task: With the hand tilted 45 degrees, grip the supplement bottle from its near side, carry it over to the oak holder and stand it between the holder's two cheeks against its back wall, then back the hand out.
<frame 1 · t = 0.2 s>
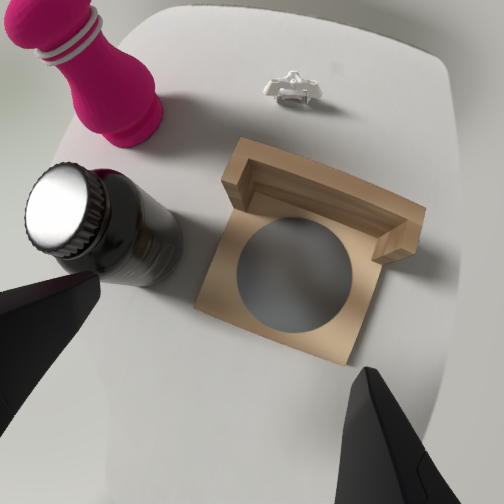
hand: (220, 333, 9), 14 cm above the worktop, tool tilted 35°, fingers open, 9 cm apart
supplement bottle: (146, 245, 25), on the worktop
clip: (292, 100, 26), on the worktop
pepper mill: (134, 120, 27), on the worktop
holder: (294, 275, 24), on the worktop
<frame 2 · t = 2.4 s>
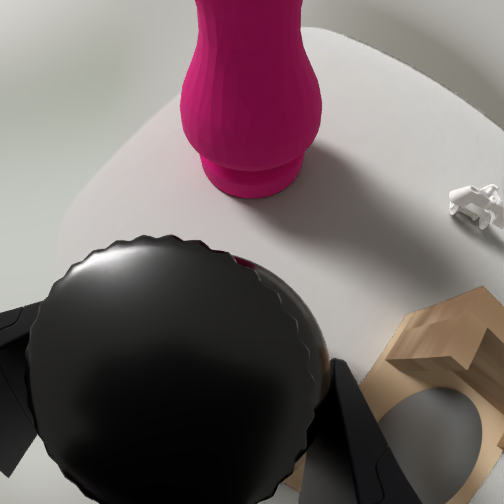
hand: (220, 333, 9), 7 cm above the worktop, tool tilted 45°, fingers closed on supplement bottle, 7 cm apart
supplement bottle: (227, 368, 15), on the worktop, touching gripper
clip: (463, 216, 18), on the worktop
pepper mill: (252, 158, 19), on the worktop
holder: (417, 455, 13), on the worktop
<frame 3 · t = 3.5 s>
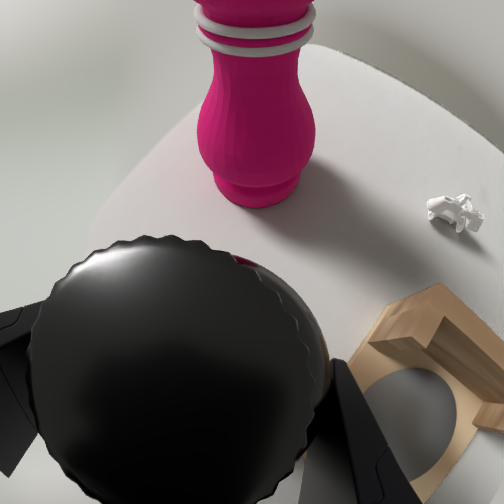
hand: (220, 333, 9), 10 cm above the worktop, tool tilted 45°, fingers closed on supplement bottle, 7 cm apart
supplement bottle: (227, 368, 15), point 3 cm above the worktop, touching gripper
clip: (441, 220, 22), on the worktop
pepper mill: (256, 172, 23), on the worktop
holder: (398, 427, 17), on the worktop
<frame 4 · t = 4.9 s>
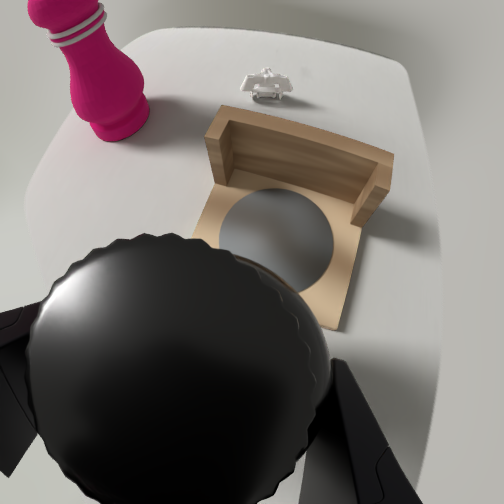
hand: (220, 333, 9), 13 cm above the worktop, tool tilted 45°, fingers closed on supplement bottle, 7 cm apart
supplement bottle: (227, 367, 15), point 6 cm above the worktop, touching gripper
clip: (266, 98, 29), on the worktop
pepper mill: (122, 120, 29), on the worktop
holder: (275, 243, 24), on the worktop
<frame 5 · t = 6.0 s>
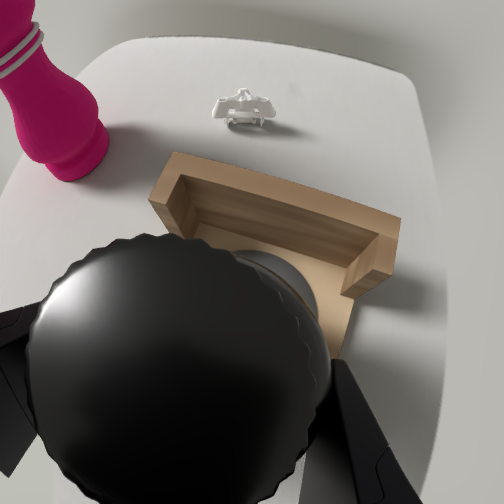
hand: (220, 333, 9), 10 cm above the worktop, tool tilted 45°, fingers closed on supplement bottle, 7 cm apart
supplement bottle: (227, 367, 15), point 4 cm above the worktop, touching gripper
clip: (244, 124, 25), on the worktop
pepper mill: (80, 153, 25), on the worktop
holder: (248, 318, 20), on the worktop
when the fingers open (9 cm above the worktop, at t = 7.2 s): supplement bottle stays where it is, resting on holder.
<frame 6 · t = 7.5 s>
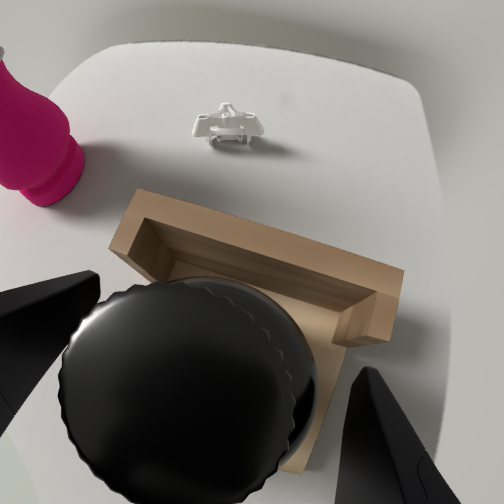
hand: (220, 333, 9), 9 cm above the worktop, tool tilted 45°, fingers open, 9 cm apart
supplement bottle: (229, 372, 16), point 1 cm above the worktop, touching holder
clip: (229, 142, 23), on the worktop
pepper mill: (55, 174, 22), on the worktop
holder: (229, 366, 17), on the worktop
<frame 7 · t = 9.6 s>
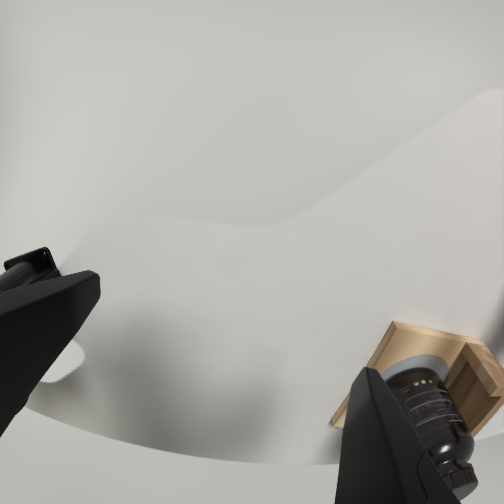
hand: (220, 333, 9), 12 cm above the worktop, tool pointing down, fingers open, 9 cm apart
supplement bottle: (405, 390, 24), point 1 cm above the worktop, touching holder
holder: (405, 382, 25), on the worktop
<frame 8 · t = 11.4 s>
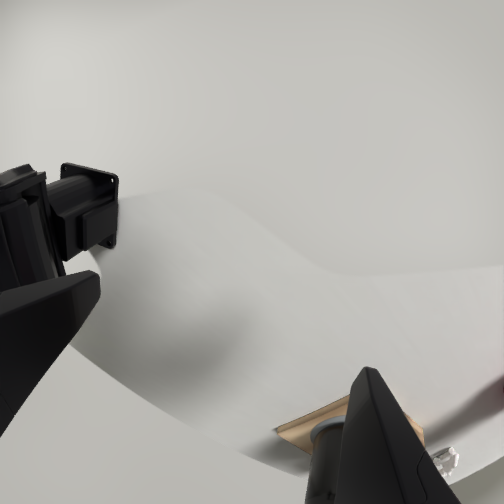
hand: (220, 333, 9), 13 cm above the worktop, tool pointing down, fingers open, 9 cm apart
supplement bottle: (346, 435, 28), point 1 cm above the worktop, touching holder
clip: (444, 451, 28), on the worktop
holder: (349, 429, 29), on the worktop
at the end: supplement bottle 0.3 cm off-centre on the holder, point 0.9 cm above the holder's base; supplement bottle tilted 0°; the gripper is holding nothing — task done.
